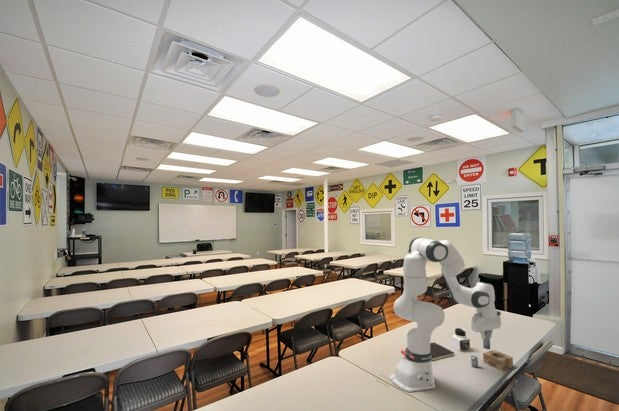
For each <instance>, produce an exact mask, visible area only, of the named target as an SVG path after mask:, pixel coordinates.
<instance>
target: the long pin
mask: <svg viewBox="0 0 619 411" xmlns="http://www.w3.org/2000/svg"><path fill="white" fill-rule="evenodd" d="M484 334H485V336H486V339H482V343H483V347H482V348H483V349H485V350H491V338H490V330H488V331H485V333H484Z"/></svg>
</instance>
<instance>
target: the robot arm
mask: <svg viewBox="0 0 619 411" xmlns="http://www.w3.org/2000/svg"><path fill="white" fill-rule="evenodd" d="M428 261H430V262H432V263H439V264H440V267H441V274H442V277H443V278H444V279H443V280H444V282H445V284H446V285H447V288H448V290H449V295H450V298H451V299H452V301H453V302H454V303H456V304H461V305H464V306H468V307H471V308H475V310H476V313H474V315H473V316H472V318H471V322H470V323H471V325H470V326H471V330H472V331H473V332H475V333H479V334H480V338H481V339H482V340H483V339H486V336H485V334H484V333H485V331H488V330H490V339H492V337H493V336H492V335H493V333H494V330H497V329H501V326H502V317H501V316H502V312H501V311H500V310H497V309H496V306H495V305H496V304H495V301H496V295H495V289H494V286H493V285H492V284H491V283H490V282H489V283H488V282H483V281H477V282H476V285H475V286H474V287H467V286H464V285H461V284H460V283H459V281H458V278H457V276H458V275H459V274H461V273H462V272H463V270H464V269H465V262H464V261H465V260H464V259H463V257H462V256H461V254H460V251H458V249H457V247H455V246H454V245H453V243H452V242H451V241H449V240H446V239H442V240H439V241H438V240H434V239H431V238H429V237H415V238H413V239H412V240H410V242H409V246H408V253H407V254H406V255H405V256H404V258H403V270H402V271H403V292H402V294H401V295H400V296H399V297H398V298H397V299H395V301H394V302H393V306H392V307H393V312H394V314H395V316H397V317H399V318H401V319H403V320H406V321H410V322H414V323H416V324H417V327H413V328H411V329H409V331H408V332H407V334H406V343H407V347H406V348H407V349H406V348H405V350H404V349H401V350H400V353H401V354H402V355H403V356H404V357H403V358H402V359H401V360H400V361H399V362H398V363H397V364H396V365H395V367H394V373H392V374H390V375H389V380H390V381H391V382H392V383H393V384H394V385H395V386H396V387H398V388H400V389H401V390H403V391H405V392H407V393H411V392H417V391H425V390H426V391H427V390H430V389H431V390H432V389H436V384H435V382H436V381H435V377H434V372H433V365H432V361H431V359H432V355H431V350H430V343H431V339H432V338H431V337H432V333H433V332H434V331H435V329H437V328H439V327H440V326H442V325H443V323H444V322H445V318H446V315H445V311H444V309H443V308H442V307H441V306H440V305H437V304H435V303H432V302H428V301H424V300H423V301H422V300H419V298H418V296H421V295H424V294H425V293H427V290H428V281H427V280H428V279H427V271H426V266H427V262H428Z"/></svg>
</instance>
